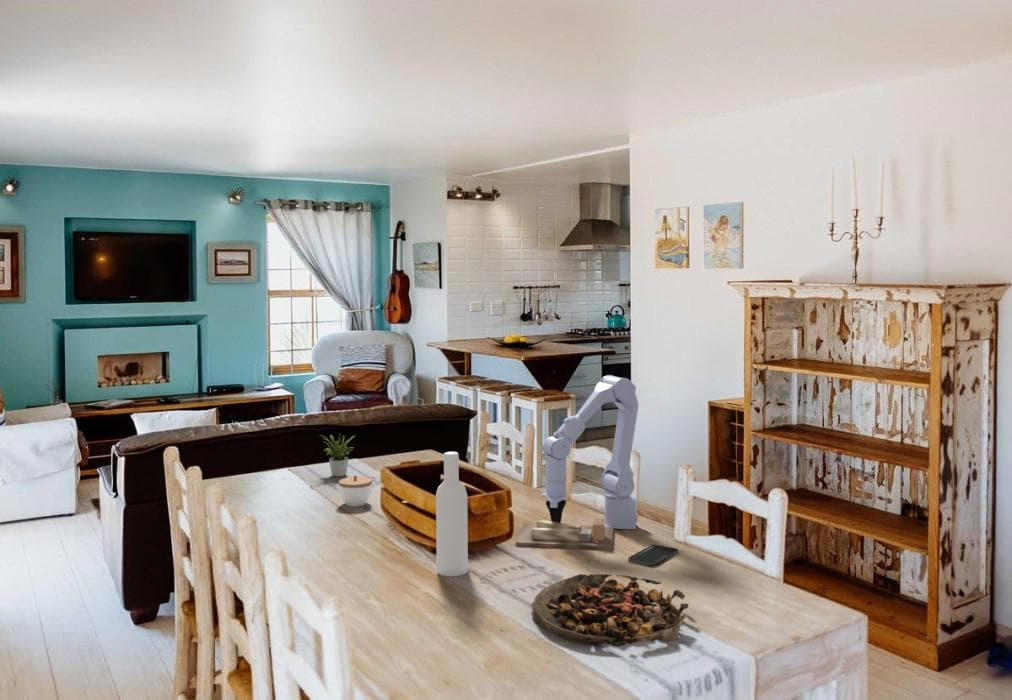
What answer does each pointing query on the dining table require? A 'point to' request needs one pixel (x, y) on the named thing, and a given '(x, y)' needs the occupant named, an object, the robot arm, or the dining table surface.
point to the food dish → (607, 611)
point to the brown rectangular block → (598, 529)
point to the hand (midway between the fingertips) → (556, 525)
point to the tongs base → (564, 543)
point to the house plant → (338, 456)
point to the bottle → (451, 521)
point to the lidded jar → (355, 490)
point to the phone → (653, 555)
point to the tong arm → (556, 525)
